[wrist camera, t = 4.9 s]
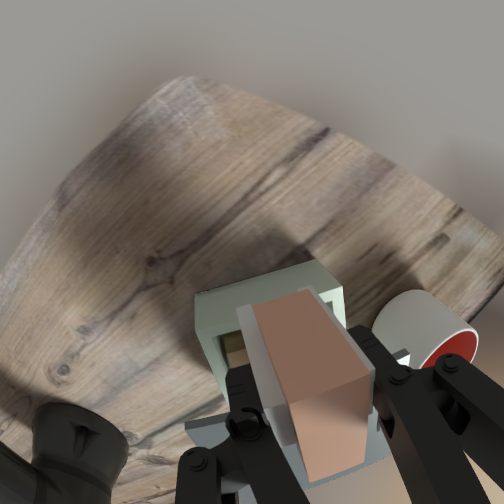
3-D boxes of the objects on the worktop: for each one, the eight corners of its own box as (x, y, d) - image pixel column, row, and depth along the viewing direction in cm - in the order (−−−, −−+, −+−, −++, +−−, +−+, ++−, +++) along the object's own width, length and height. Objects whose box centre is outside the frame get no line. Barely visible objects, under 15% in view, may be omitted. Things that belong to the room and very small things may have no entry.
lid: (242, 492, 20) (256, 551, 14) (136, 327, 13) (114, 440, 7) (384, 443, 21) (414, 494, 15) (399, 247, 14) (490, 306, 8)
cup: (356, 316, 33) (402, 372, 23) (423, 269, 32) (479, 309, 23) (376, 365, 36) (413, 416, 27) (433, 324, 36) (477, 364, 27)
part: (233, 357, 31) (238, 383, 27) (222, 328, 29) (226, 353, 25) (270, 346, 31) (279, 371, 27) (262, 316, 29) (270, 341, 26)
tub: (229, 380, 33) (235, 420, 27) (194, 294, 28) (194, 330, 23) (328, 350, 34) (349, 384, 28) (316, 258, 29) (342, 286, 24)
